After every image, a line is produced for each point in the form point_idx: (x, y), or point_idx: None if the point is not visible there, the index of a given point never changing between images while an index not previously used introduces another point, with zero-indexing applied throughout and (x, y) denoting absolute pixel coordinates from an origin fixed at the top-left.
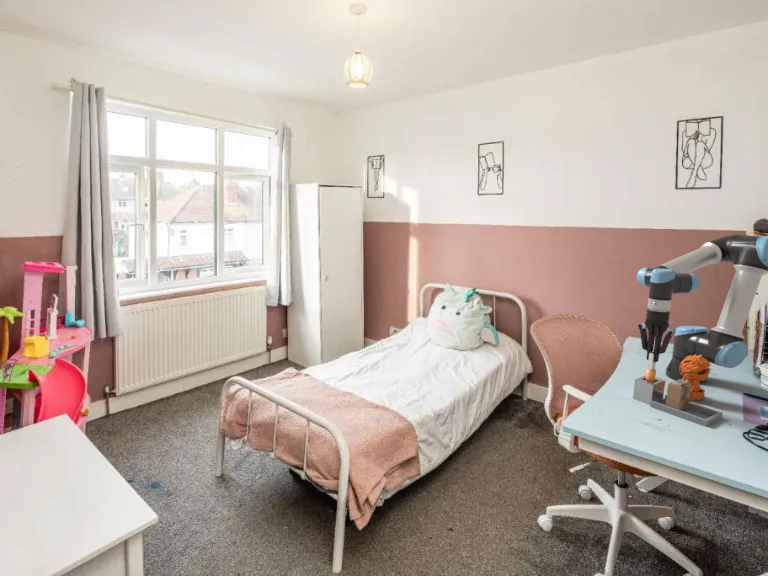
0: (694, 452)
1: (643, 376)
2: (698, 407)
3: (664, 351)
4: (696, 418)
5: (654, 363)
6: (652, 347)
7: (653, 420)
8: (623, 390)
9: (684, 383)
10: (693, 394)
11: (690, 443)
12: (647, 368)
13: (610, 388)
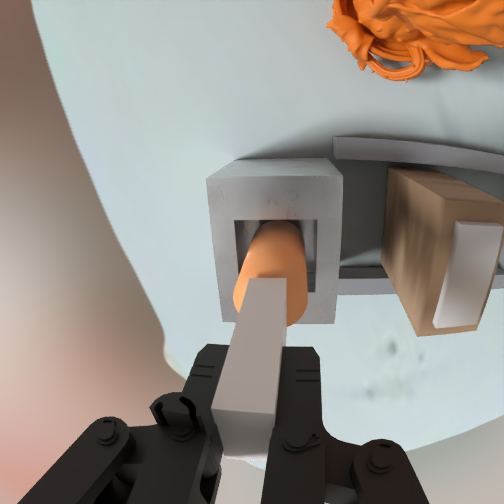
0: (472, 404)
1: (214, 234)
2: (474, 169)
3: (399, 474)
4: None
5: (284, 334)
6: (193, 483)
7: (380, 365)
8: (164, 214)
9: (490, 278)
10: (427, 62)
11: (468, 386)
12: (237, 303)
13: (130, 243)
